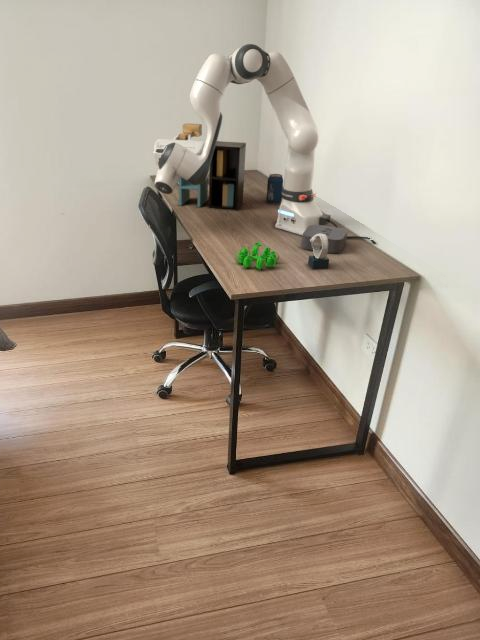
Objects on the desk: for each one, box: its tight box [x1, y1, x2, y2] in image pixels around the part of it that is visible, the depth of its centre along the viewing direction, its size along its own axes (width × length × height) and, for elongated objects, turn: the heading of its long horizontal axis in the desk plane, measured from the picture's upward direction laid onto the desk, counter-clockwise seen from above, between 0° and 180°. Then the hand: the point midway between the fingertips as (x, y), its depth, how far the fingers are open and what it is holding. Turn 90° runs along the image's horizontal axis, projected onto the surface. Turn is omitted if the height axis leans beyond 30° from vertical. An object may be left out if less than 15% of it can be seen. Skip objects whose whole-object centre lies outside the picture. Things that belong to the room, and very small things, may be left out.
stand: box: [178, 176, 209, 208], centre depth 242 cm, size 12×10×22 cm
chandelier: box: [234, 242, 280, 271], centre depth 183 cm, size 15×15×7 cm
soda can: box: [265, 173, 284, 205], centre depth 245 cm, size 7×7×12 cm
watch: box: [307, 233, 330, 270], centre depth 180 cm, size 6×8×11 cm
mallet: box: [179, 122, 203, 140], centre depth 218 cm, size 15×7×4 cm, turn 162°
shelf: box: [208, 140, 247, 211], centre depth 236 cm, size 11×13×26 cm
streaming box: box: [301, 225, 348, 254], centre depth 198 cm, size 14×14×5 cm
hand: (184, 135), depth 215 cm, fingers closed on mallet, 2 cm apart
